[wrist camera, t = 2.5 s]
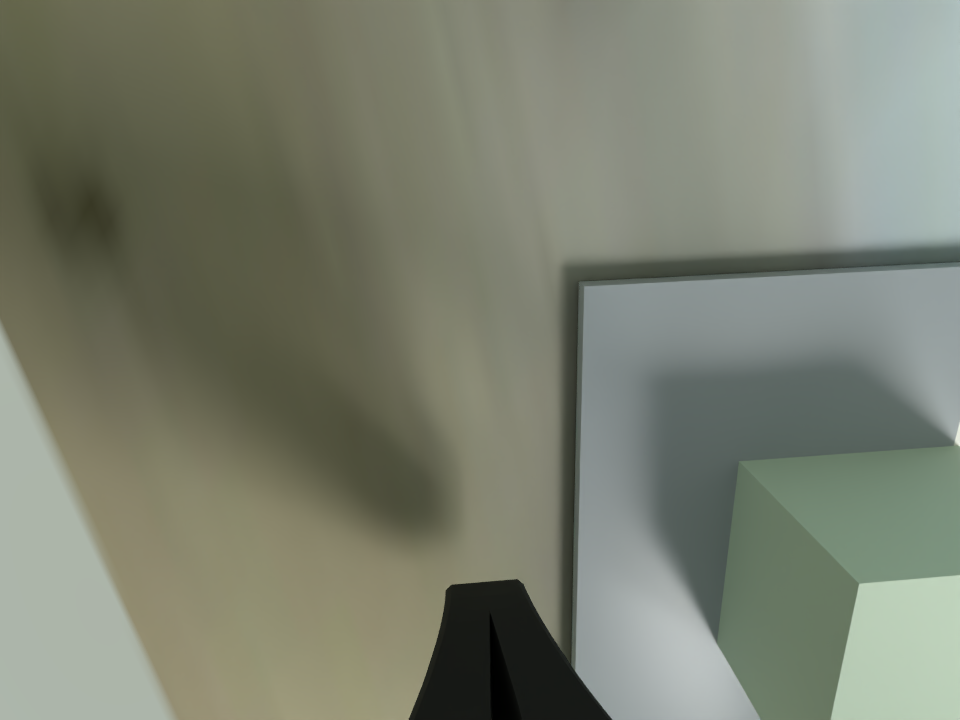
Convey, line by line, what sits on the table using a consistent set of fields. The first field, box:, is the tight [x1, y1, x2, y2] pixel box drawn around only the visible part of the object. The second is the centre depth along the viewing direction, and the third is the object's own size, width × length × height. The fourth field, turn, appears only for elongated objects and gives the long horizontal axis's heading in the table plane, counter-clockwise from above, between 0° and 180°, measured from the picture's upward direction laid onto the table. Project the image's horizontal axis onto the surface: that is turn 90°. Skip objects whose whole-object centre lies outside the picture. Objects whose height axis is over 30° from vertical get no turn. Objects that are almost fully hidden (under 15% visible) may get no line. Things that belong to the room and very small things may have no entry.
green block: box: [717, 446, 960, 720], centre depth 11 cm, size 5×5×4 cm
